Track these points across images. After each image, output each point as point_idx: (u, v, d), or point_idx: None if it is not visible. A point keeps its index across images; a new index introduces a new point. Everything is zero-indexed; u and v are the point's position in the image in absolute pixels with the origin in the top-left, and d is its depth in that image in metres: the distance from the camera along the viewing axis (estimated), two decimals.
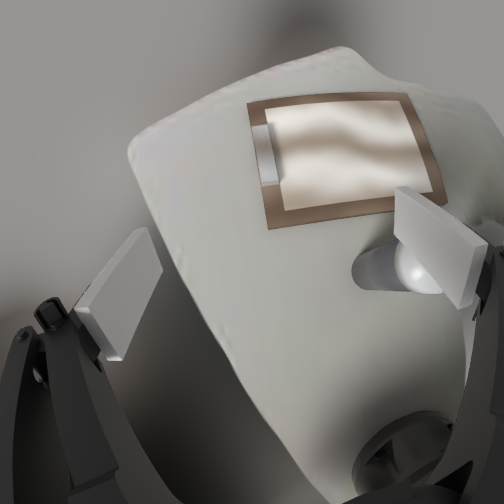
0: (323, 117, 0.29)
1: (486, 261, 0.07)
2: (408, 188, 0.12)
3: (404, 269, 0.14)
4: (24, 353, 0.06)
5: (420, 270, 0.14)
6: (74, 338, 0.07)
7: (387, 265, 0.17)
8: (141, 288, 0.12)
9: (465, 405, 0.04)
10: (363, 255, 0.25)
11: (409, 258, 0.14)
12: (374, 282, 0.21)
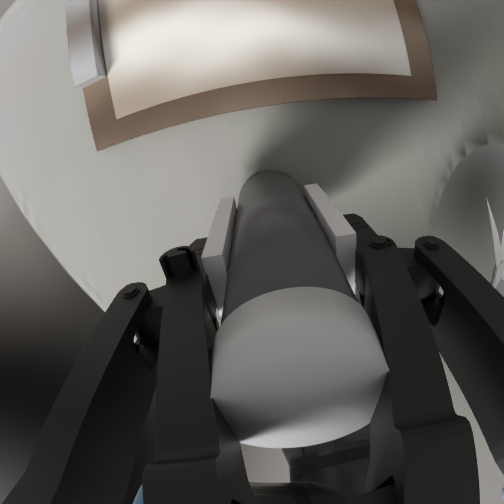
0: None
1: (357, 251, 0.09)
2: (315, 185, 0.14)
3: None
4: (128, 315, 0.07)
5: (251, 430, 0.05)
6: (202, 294, 0.08)
7: None
8: None
9: None
10: (245, 194, 0.14)
11: None
12: None
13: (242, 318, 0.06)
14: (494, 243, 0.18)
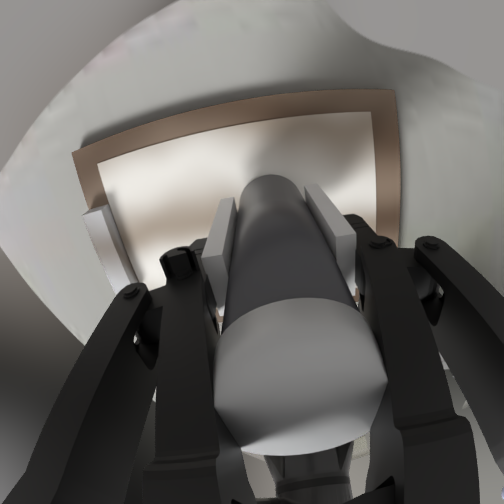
0: (195, 171, 0.16)
1: (357, 251, 0.09)
2: (315, 185, 0.14)
3: None
4: (128, 315, 0.07)
5: (252, 440, 0.05)
6: (202, 294, 0.08)
7: None
8: None
9: None
10: (245, 199, 0.14)
11: None
12: None
13: (241, 331, 0.06)
14: None
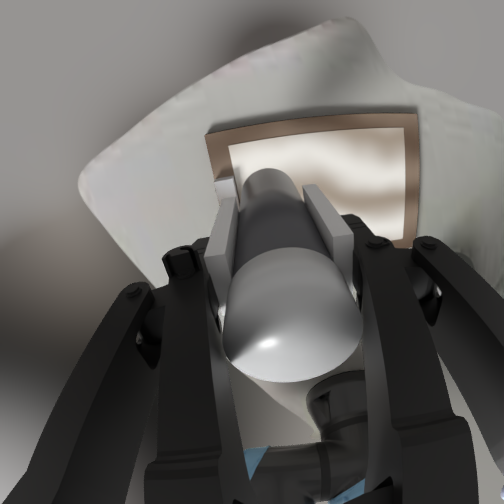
0: (301, 157, 0.25)
1: (354, 251, 0.09)
2: (314, 186, 0.14)
3: None
4: (131, 314, 0.07)
5: (257, 361, 0.08)
6: (204, 294, 0.08)
7: None
8: None
9: (371, 410, 0.05)
10: (245, 190, 0.17)
11: (229, 347, 0.08)
12: None
13: (243, 272, 0.08)
14: None
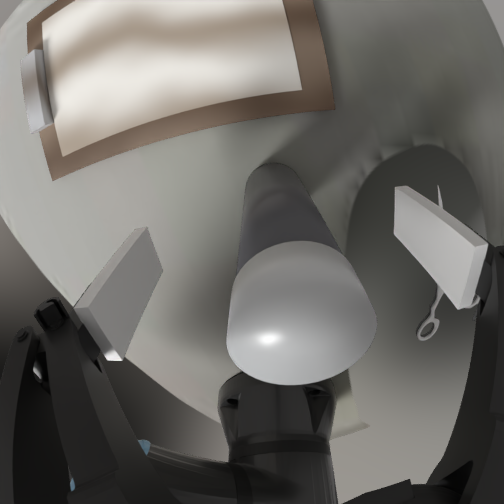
0: (110, 2, 0.11)
1: (486, 261, 0.07)
2: (408, 188, 0.12)
3: None
4: (24, 353, 0.06)
5: (263, 362, 0.08)
6: (74, 338, 0.07)
7: None
8: (141, 288, 0.12)
9: (465, 405, 0.04)
10: (250, 184, 0.16)
11: (234, 347, 0.07)
12: None
13: (251, 266, 0.08)
14: None
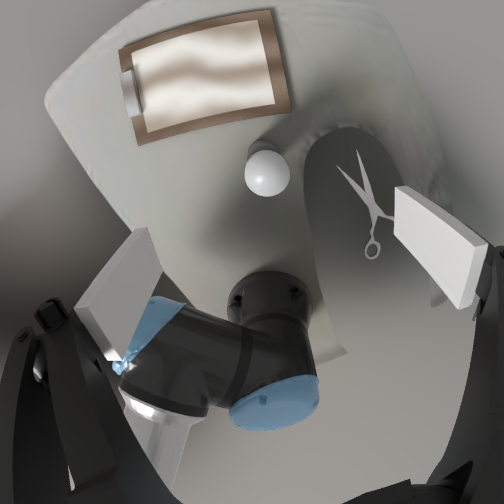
0: (177, 51, 0.29)
1: (486, 261, 0.07)
2: (408, 188, 0.12)
3: (246, 181, 0.26)
4: (24, 353, 0.06)
5: (255, 183, 0.25)
6: (74, 338, 0.07)
7: None
8: (141, 288, 0.12)
9: (465, 405, 0.04)
10: (251, 147, 0.34)
11: (246, 176, 0.25)
12: None
13: (251, 156, 0.26)
14: (356, 191, 0.40)
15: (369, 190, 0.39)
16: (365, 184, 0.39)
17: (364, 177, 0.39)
